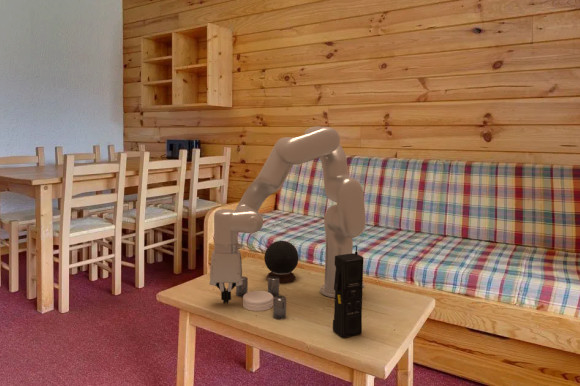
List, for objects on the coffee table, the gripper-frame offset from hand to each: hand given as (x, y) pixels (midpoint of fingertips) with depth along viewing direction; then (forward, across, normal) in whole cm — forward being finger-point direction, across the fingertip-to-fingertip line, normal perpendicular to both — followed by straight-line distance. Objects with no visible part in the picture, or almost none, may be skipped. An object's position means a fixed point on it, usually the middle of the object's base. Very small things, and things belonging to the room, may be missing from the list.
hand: (226, 301), depth 147 cm
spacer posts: (+1, -10, 0) cm, 10 cm away
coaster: (+2, -10, 0) cm, 11 cm away
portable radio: (+1, -36, +20) cm, 42 cm away
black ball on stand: (+1, -18, -26) cm, 32 cm away
